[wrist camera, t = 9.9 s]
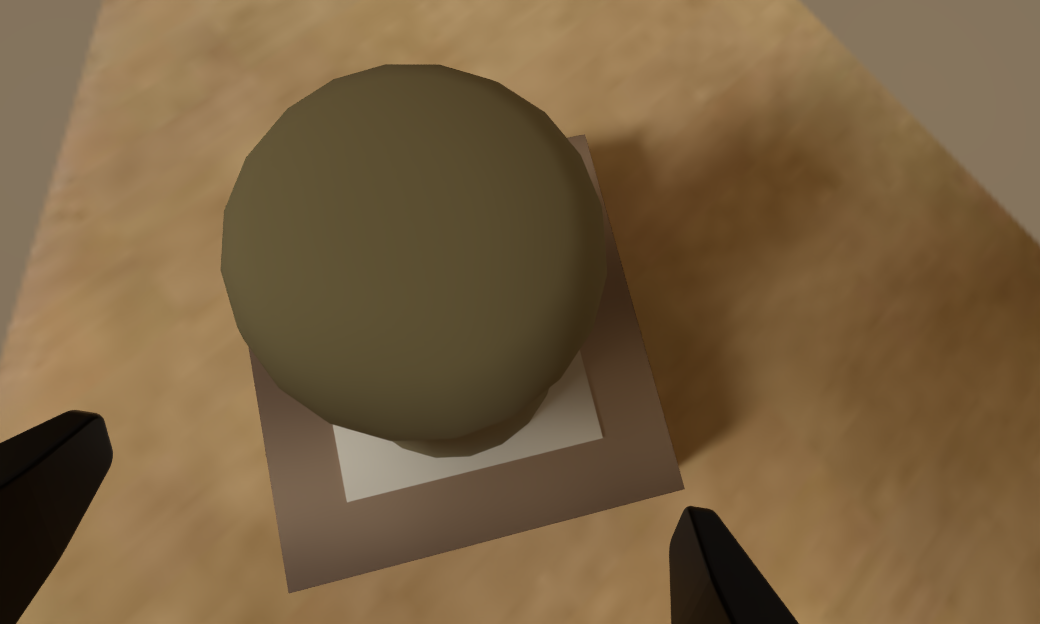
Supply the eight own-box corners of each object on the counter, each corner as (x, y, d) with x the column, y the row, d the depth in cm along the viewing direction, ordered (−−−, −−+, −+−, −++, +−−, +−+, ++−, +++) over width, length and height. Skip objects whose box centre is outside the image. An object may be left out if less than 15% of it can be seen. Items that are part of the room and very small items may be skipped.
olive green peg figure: (576, 434, 18) (725, 421, 7) (360, 478, 17) (158, 539, 6) (533, 232, 19) (605, -47, 8) (329, 266, 18) (114, 14, 8)
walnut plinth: (655, 482, 21) (685, 489, 18) (317, 570, 19) (287, 594, 16) (571, 174, 23) (585, 132, 20) (260, 237, 22) (223, 204, 18)
